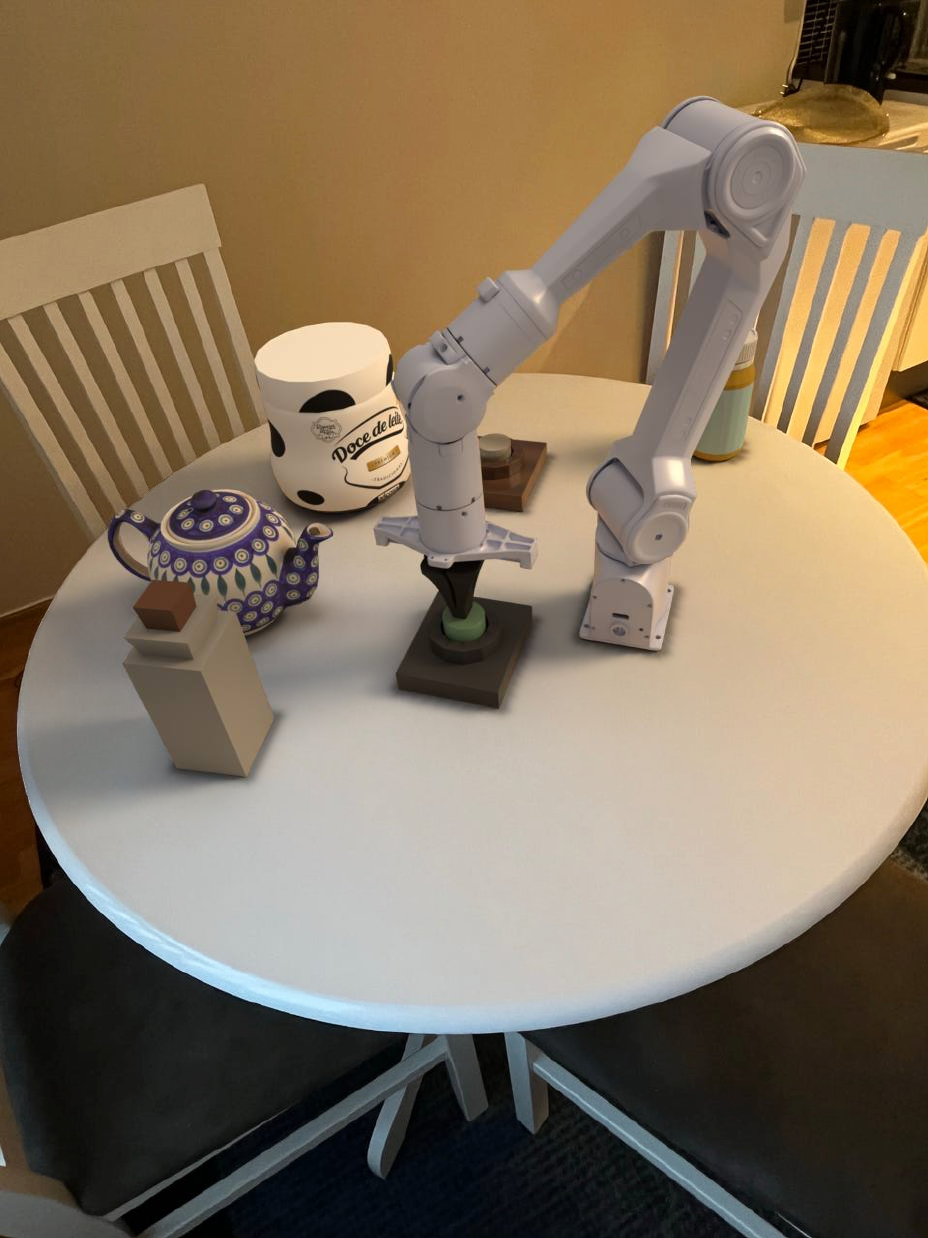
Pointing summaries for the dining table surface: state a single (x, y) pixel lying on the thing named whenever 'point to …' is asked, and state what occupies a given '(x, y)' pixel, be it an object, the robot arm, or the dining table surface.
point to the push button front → (466, 654)
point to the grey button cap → (494, 447)
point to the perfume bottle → (197, 679)
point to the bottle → (731, 409)
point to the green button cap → (465, 624)
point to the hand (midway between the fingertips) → (462, 611)
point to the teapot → (228, 553)
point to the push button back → (513, 475)
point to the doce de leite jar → (333, 416)
